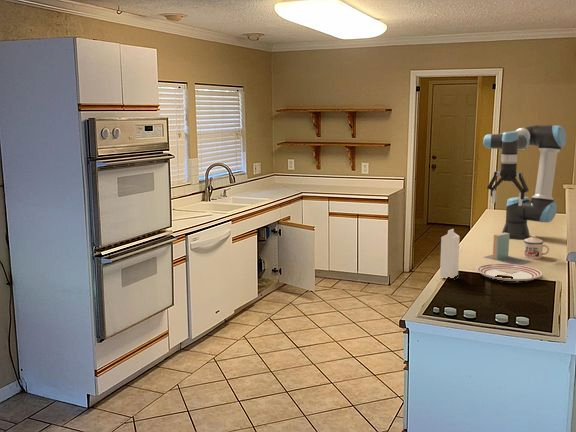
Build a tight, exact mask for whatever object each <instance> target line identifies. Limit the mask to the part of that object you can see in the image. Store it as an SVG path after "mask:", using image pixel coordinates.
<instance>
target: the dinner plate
mask: <svg viewBox="0 0 576 432" xmlns="http://www.w3.org/2000/svg"><path fill="white" fill-rule="evenodd" d="M503 270H511V271H515V272H511V273H510V272H507V271H503ZM476 271H477V272H478V273H479V274H480V275H482V276H484V277H487V278H489V279H491V278H492V279H491V280H494V279H497V280H503V281H516V282H515V283H520V282H519V281H525V282H529V281H533V280H536V279H538V278H540V277H541V276H542V275H543V273H542V270H539V269H537V268H534V267H531V266H526V265H523V264H522V265H515V264H509V263H487V264H486V263H485V264H483V265H482V264H481V265H479V266H477V267H476ZM499 274H508V275H510V276H512V277H513V279H511V278H502V277H495V276H497V275H499ZM497 280H496V281H497ZM503 281H502V282H503Z"/></svg>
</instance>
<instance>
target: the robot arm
mask: <svg viewBox="0 0 576 432" xmlns="http://www.w3.org/2000/svg"><path fill="white" fill-rule="evenodd" d="M566 133H567V132H566V130H565V128H564V127H563V126H562V125H557V124H556V125H555V124H554V125H552V124H551V125H550V124H549V125H548V124H547V125H545V124H544V125H543V124H542V125H541V124H540V125H539V124H535V125H534V124H533V125H530V126H529V125H528V126H524V127H520V128H519V127H518V129H516V130H513V131H504V132H501V133H495V134H494V133H489V134H488V133H487V134H486V135H484V137H483V141H482V142H483V147H484V148H485V149H490V150H492V149H493V150H494V149H498V150H501V157H500V162H501V163H500V171H494V172H493V176H492V178H491V180H490V182H489V183H488V185H487V190H490V197H492V198H491V200H492V201H491V204H495V203H496V201H497V200H496V199H497V198H496V197H497V190H496V189H497V188H498V186H500V185H501V184H502V183H503V181H504V182H512V183H513V184H514V185H515V186H516V188H517V189H518V191H519V193H518V196H515V197H510V198H508V199H507V201H506V206H505V207H506V209H505V210H506V211H505V224H504V226H503V229H502V231H501V233H510V234H509V239H511V240H513V239H514V240H525V239H528V238H530V237H531V236H530V235H531V234H530V229H529V226H528V221H530V222H537V223H538V222H539V223H551V222H552V221H554V220H553V219H555V216H556V215H557V211H558V205H557V203H556V202H555V199H554V198H553V196H552V195H553V188H554V187H553V186H554V181H555V172H556V165H557V159H558V154H559V153H560V152H561V149H562V148H564V147H565V146H566V143H567V134H566ZM529 146H532V147H533V146H534V147H537V149H538V151H539V153H540V155H539V161H538V168H537V169H538V170H537V175H536V176H537V177H536V182H535V183H536V184H535V191H534V192H535V193H534V195H532V196H531V199H530V198H529V197H528V196H525V193H527V192H530V191H529V188H528V185H527V183H526V181H525V178H524V174H523V172H519V173H517V166H518V164H517V162H518V150H521V151H522V150H524V149H527V148H528V147H529ZM498 176H500V178H499V179H498V180H497V178H498ZM516 177H518V179H519V181H520V182H519V181H518V179H517V178H516ZM496 180H497V181H496ZM494 183H495V184H494ZM520 183H521V184H520Z"/></svg>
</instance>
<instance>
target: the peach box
mask: <svg viewBox="0 0 576 432" xmlns="http://www.w3.org/2000/svg"><path fill="white" fill-rule="evenodd" d="M509 234H510V233H502V232H501V233H498V234H497V233H496V234H493V243H492V245H493V247H492V249H493V250H492V255H493V259H501V258H505V257H508V256H509V251H510V250H509V249H510V248H509V247H510V238H509ZM493 259H492V260H493Z"/></svg>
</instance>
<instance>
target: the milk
mask: <svg viewBox="0 0 576 432" xmlns="http://www.w3.org/2000/svg"><path fill="white" fill-rule="evenodd" d="M454 229H455V228H451V229H449V230H447V233H446V234H445V235H443V236H441V239H440V261H439V262H440V263H439V264H440V265H439V267H440V268H439V278H440V277H450V278H454V277H455V276H457V275H458V276H459V264H460V263H459V261H460V259H459V257H460V239H461V238H460V235H459V234H457V233H456V232H455V230H454Z"/></svg>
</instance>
